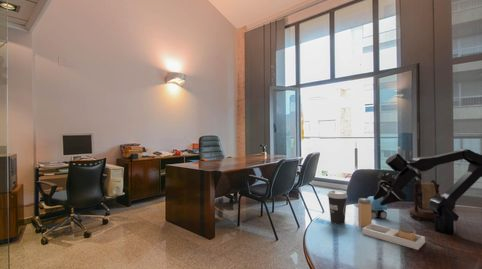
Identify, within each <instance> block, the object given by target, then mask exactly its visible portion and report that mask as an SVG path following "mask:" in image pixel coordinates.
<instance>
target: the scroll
mask: <svg viewBox="0 0 482 269" xmlns="http://www.w3.org/2000/svg"><path fill="white" fill-rule="evenodd" d="M413 187H414V189H413V190H414V192H413V196H414V201H413V204H414V207H413V208H412V209H410V210H409V215H410V216H412V217H414V218H416V219H419V221H420V222H422V221H423V220H426V221H433V222H434V219H435V218H436V216H437V215H435V214H434V212H433V211H432V210H431V209H430V207H429V203H430V201H431V200H430V199H432V198H433V197H434V196H435V195H436V194H439V195H441V194H440V183H437V182H436V180H434V179H431V181H430V182H422V181H421V180H420V179H417V180H416V181H415V182H414V183H413ZM419 196H420V197H419ZM421 196H422V198H421Z"/></svg>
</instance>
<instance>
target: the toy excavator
mask: <svg viewBox="0 0 482 269" xmlns="http://www.w3.org/2000/svg"><path fill="white" fill-rule="evenodd" d="M374 196H375V195H373V196H367V198H366V199H370V204H371V220H373V219H376V218H377V217H379V219H383V220H385V219H387V216H388V214H387V210H388V206H387V205H381V204H380V203H381V201H382V200H383V199H384V196H383V197H381V198H379V199H377V200H374V199H373V197H374Z"/></svg>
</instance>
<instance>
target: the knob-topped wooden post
mask: <svg viewBox="0 0 482 269" xmlns="http://www.w3.org/2000/svg"><path fill="white" fill-rule="evenodd" d="M357 209H358V210H357V211H358V212H357V213H358V214H357V215H358V216H357V218H358V220H357V221H358V226H359V227H366V226H367V225H369V224H371V223H372V220H373V219H371V204H370V199H367V198H364V197H360V198H358V201H357Z"/></svg>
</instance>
